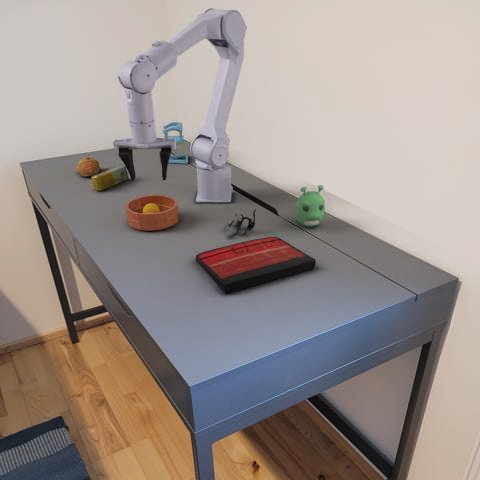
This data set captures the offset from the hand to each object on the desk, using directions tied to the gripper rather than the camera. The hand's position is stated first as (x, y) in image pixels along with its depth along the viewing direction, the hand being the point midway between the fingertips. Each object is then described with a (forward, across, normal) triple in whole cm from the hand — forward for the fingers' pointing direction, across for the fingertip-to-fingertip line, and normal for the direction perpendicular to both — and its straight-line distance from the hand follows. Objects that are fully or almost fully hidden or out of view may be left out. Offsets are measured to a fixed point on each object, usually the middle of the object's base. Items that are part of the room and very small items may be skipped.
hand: (149, 179), depth 118 cm
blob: (+9, +1, -4) cm, 10 cm away
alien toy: (+10, +39, -8) cm, 41 cm away
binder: (+10, +25, -26) cm, 38 cm away
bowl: (+9, +1, -4) cm, 10 cm away
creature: (+10, +22, -10) cm, 26 cm away
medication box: (+10, -16, +22) cm, 28 cm away
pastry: (+8, -25, +33) cm, 42 cm away
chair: (+10, +1, +45) cm, 46 cm away
